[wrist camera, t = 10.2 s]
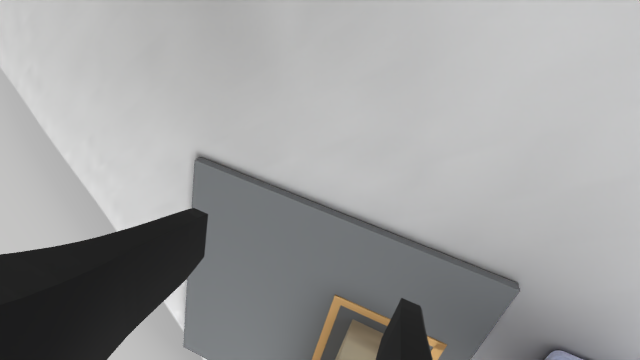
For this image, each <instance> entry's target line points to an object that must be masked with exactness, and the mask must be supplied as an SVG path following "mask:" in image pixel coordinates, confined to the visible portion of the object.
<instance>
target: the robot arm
mask: <svg viewBox="0 0 640 360" xmlns="http://www.w3.org/2000/svg"><path fill="white" fill-rule="evenodd" d="M207 222H208V214H207V213H205V212H202V211H200V210H198V209H195V208H192V209H188V210H185V211H181V212H178V213H175V214H172V215H169V216H166V217H163V218H160V219H157V220H154V221H151V222H148V223H145V224H142V225H138V226H135V227H132V228H129V229H125V230H122V231H118V232H115V233H111V234H107V235H104V236H101V237H97V238H92V239H89V240H84V241H80V242H75V243H70V244H65V245H61V246H55V247H49V248H43V249H37V250H30V251H24V252H17V253H10V254H1V255H0V360H107V359H108V357H109V356H110V355H111V354H112V353H113V352H114V351H115V350H116V348H117V347H118V346H119V345H120V344H121V343H122V342H123V340H124V339H125V338H126V337H127V336H128V335H129V334H130V333H131V332H132V331H133V330H134V329H135V328H136V326H138V325H139V324H140V323H141V322H142V321H143V320H144V319H145V318H146V317H147V316H148V315H149V314H150V313H151V312H152V311H154V309H156V308H157V307H158V306H159V305H160V304H161V303H162V302H163V301H164V300H165V299H166V298H167V297H168V296H169V295H170V294H171V293H172V292H174V291H175V290H176V289H177V288H178V287H179V286H180V285H181V284H182V283H183V282H184V281H185V280H186V279H187V278H188V276H189V275H190V274H191V273H192V272H193V270H194V269H195V268H196V267H197V265H198V264H199V263H200V262H201V260H202V259H203V258H204V255H205V244H206V233H207ZM376 360H433V358H432V355H431V351H430V347H429V342H428V338H427V333H426V329H425V324H424V318H423V312H422V308H421V306H420V305H417V304H415V303H413V302H410V301H408V300H406V299H403V298H401V300H400V302H399V304H398V306H397V308H396V310H395V312H394V314H393V316H392V318H391V320H390V322H389V324H388V326H387V328H386V330H385V332H384V334H383V336H382V338H381V342H380V345H379V349H378V353H377V356H376ZM545 360H583V359H581V358H578V357H576V356H574V355H571V354H569V353H566V352H564V351H560V350H556V351H553V352H551V353H550V354H549V355H548V356H547V358H546V359H545Z"/></svg>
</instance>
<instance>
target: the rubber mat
mask: <svg viewBox="0 0 640 360" xmlns="http://www.w3.org/2000/svg"><path fill="white" fill-rule="evenodd" d="M192 208H195V209H198V210H200V211H202V212H205V213H207V214H208V222H207V233H206V244H205V255H204V258H203V259H202V260H201V262H200V263H199V264H198V265H197V267H196V268H195V269H194V270H193V272H192V273H191V274H190V275H189V276H188V279H187V296H186V312H185V329H184V345H183V346H184V347H185V348H187V349H188V350H190V351H192V352H194V353H196V354H198V355H200V356H202V357H204V358H206V359H207V360H335V358H336V356H337V354H338V352H339V349H340V347H341V345H342V342H343V340H344V338H345V336H346V333H347V331H348V329H349V326H350V324H351V322H352V320H353V319H354V320H356V321H358V322H360V323H362V324H364V325H366V326H368V327H371V328H373V329H375V330H377V331H379V332H381V333H383V334H384V332H385V330H386V328H387V326H388V324H389V322H390V320H391V318H392V316H393V314H394V312H395V310H396V308H397V306H398V304H399V302H400V300H401V298H403V299H406V300H408V301H410V302H413V303H415V304H417V305H420V306H421V308H422V312H423V318H424V324H425V329H426V333H427V338H428V342H429V347H430V351H431V355H432V358H433V360H470V359H471V358H472V357H473V355H474V354H475V352H476V351H477V350H478V348H479V347H480V345H481V344H482V343H483V341H484V340H485V339H486V337H487V336H488V334H489V333H490V332H491V330H492V329H493V327H494V326H495V325H496V323H497V322H498V320H499V319H500V318H501V316H502V315H503V314H504V312H505V311H506V309H507V308H508V307H509V305H510V304H511V302H512V301H513V300H514V298H515V297H516V296H517V294H518V293H519V291H520V288H519V284H518V283H516V282H513V281H511V280H508V279H506V278H503V277H501V276H498V275H496V274H493V273H491V272H488V271H486V270H483V269H481V268H478V267H476V266H473V265H471V264H468V263H466V262H463V261H461V260H458V259H456V258H453V257H451V256H448V255H446V254H443V253H441V252H438V251H436V250H433V249H430V248H428V247H425V246H423V245H420V244H418V243H415V242H413V241H410V240H408V239H405V238H403V237H400V236H398V235H395V234H393V233H390V232H388V231H385V230H383V229H380V228H378V227H375V226H373V225H370V224H368V223H365V222H363V221H360V220H358V219H355V218H353V217H350V216H347V215H345V214H342V213H340V212H337V211H335V210H332V209H330V208H327V207H325V206H322V205H320V204H317V203H315V202H312V201H310V200H307V199H305V198H302V197H300V196H297V195H295V194H292V193H290V192H287V191H285V190H282V189H280V188H277V187H275V186H272V185H270V184H267V183H264V182H262V181H259V180H257V179H254V178H252V177H249V176H247V175H244V174H242V173H239V172H237V171H234V170H232V169H229V168H227V167H224V166H222V165H219V164H217V163H214V162H212V161H209V160H207V159H204V158H202V157H199V158H198V159H196V160H195V164H194V180H193V197H192Z"/></svg>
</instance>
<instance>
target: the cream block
mask: <svg viewBox="0 0 640 360" xmlns="http://www.w3.org/2000/svg"><path fill="white" fill-rule="evenodd" d="M382 336H383V333H381V332H379V331H377V330H375V329H373V328H371V327H368V326H366V325H364V324H362V323H360V322H358V321H356V320H354V319H353V320H352V322H351V324H350V326H349V329H348V331H347V333H346V336H345V338H344V340H343V342H342V345H341V347H340V349H339V352H338V354H337V356H336V358H335V360H376V356H377V353H378V349H379V345H380V342H381V338H382Z"/></svg>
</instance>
